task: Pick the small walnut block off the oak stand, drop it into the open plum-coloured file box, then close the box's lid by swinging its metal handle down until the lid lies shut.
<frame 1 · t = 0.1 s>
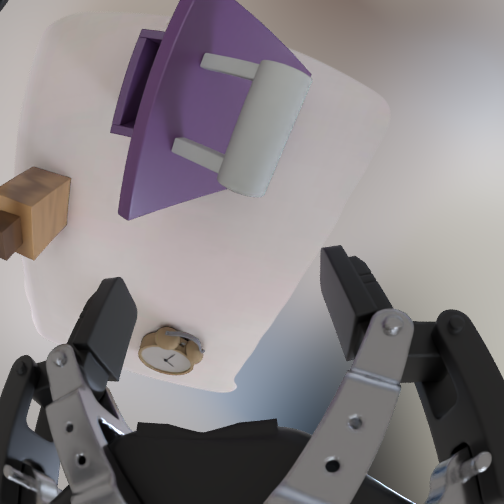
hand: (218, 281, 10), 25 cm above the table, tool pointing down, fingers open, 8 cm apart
stand: (49, 195, 32), on the table
block: (11, 226, 24), point 10 cm above the table, touching stand
alarm clock: (172, 343, 51), on the table
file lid: (277, 125, 15), point 17 cm above the table, hinge at 60.0°
file box: (210, 96, 28), on the table
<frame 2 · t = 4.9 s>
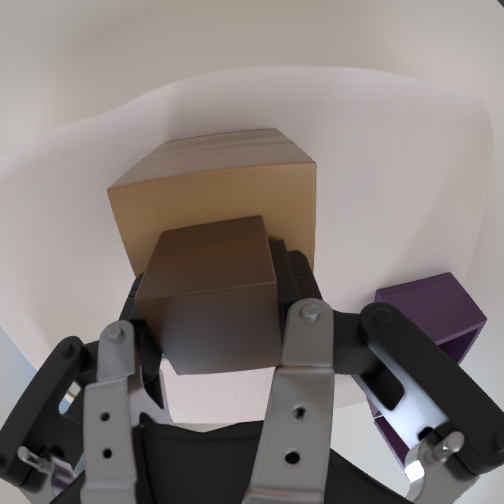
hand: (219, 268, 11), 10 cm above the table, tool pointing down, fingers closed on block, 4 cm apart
stand: (225, 186, 20), on the table
block: (220, 264, 11), point 10 cm above the table, touching gripper, stand
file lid: (433, 453, 19), point 17 cm above the table, hinge at 60.0°
file box: (402, 327, 31), on the table
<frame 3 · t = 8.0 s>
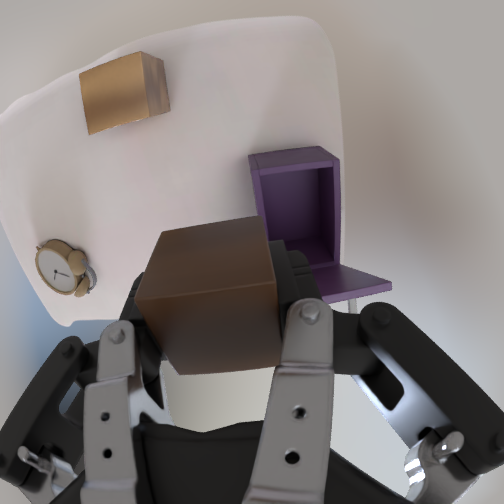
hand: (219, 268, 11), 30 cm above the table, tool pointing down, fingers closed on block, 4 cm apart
stand: (140, 92, 31), on the table
block: (220, 264, 11), point 30 cm above the table, touching gripper
alarm clock: (70, 263, 46), on the table
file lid: (319, 301, 31), point 17 cm above the table, hinge at 60.0°
file box: (290, 198, 42), on the table
when the fingers open (21 cm above the table, at t = 11.4 s): block drops 20 cm, resting on file box.
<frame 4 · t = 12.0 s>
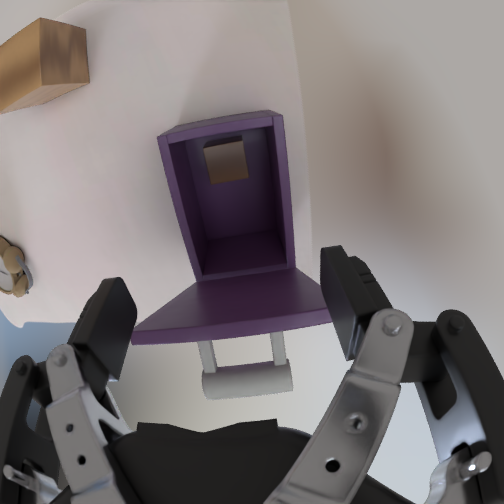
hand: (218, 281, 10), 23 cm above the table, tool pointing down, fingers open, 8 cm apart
stand: (62, 66, 21), on the table
block: (227, 154, 29), point 1 cm above the table, touching file box
alarm clock: (11, 260, 36), on the table
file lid: (246, 323, 21), point 17 cm above the table, hinge at 60.0°
file box: (233, 180, 32), on the table
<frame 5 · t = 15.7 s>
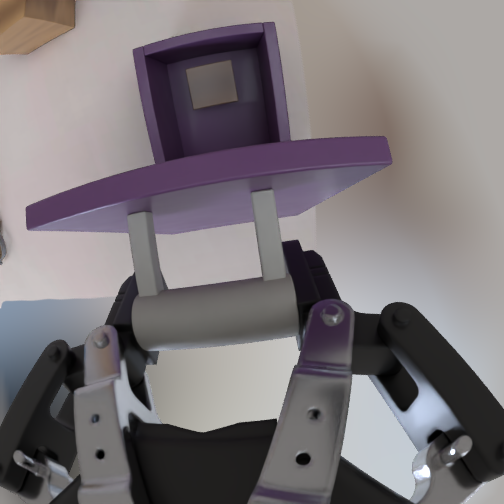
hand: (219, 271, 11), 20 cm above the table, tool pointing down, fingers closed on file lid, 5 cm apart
stand: (49, 16, 15), on the table
block: (214, 86, 23), point 1 cm above the table, touching file box
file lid: (227, 252, 15), point 17 cm above the table, hinge at 60.0°, touching gripper
file box: (221, 116, 26), on the table
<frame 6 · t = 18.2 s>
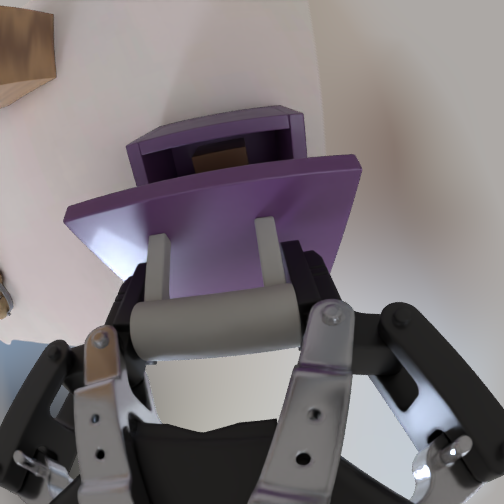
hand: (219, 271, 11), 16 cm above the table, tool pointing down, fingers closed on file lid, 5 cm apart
stand: (27, 60, 15), on the table
block: (225, 163, 23), point 1 cm above the table, touching file box
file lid: (238, 323, 14), point 15 cm above the table, hinge at 25.9°, touching gripper
file box: (233, 194, 26), on the table
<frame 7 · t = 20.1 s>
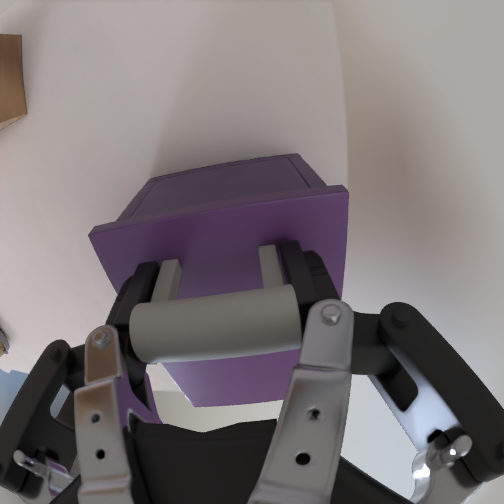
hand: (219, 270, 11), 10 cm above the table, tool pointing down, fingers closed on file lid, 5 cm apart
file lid: (244, 375, 13), point 11 cm above the table, hinge at 1.2°, touching gripper
file box: (239, 256, 23), on the table
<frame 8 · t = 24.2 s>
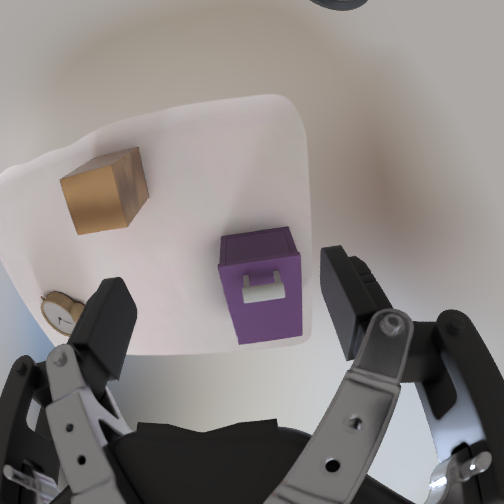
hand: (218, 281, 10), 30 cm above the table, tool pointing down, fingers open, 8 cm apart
stand: (120, 177, 37), on the table
alarm clock: (71, 310, 52), on the table
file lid: (267, 316, 38), point 11 cm above the table, hinge at 0.7°
file box: (260, 271, 48), on the table
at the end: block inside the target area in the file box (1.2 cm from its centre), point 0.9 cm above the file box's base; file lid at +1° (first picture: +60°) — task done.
